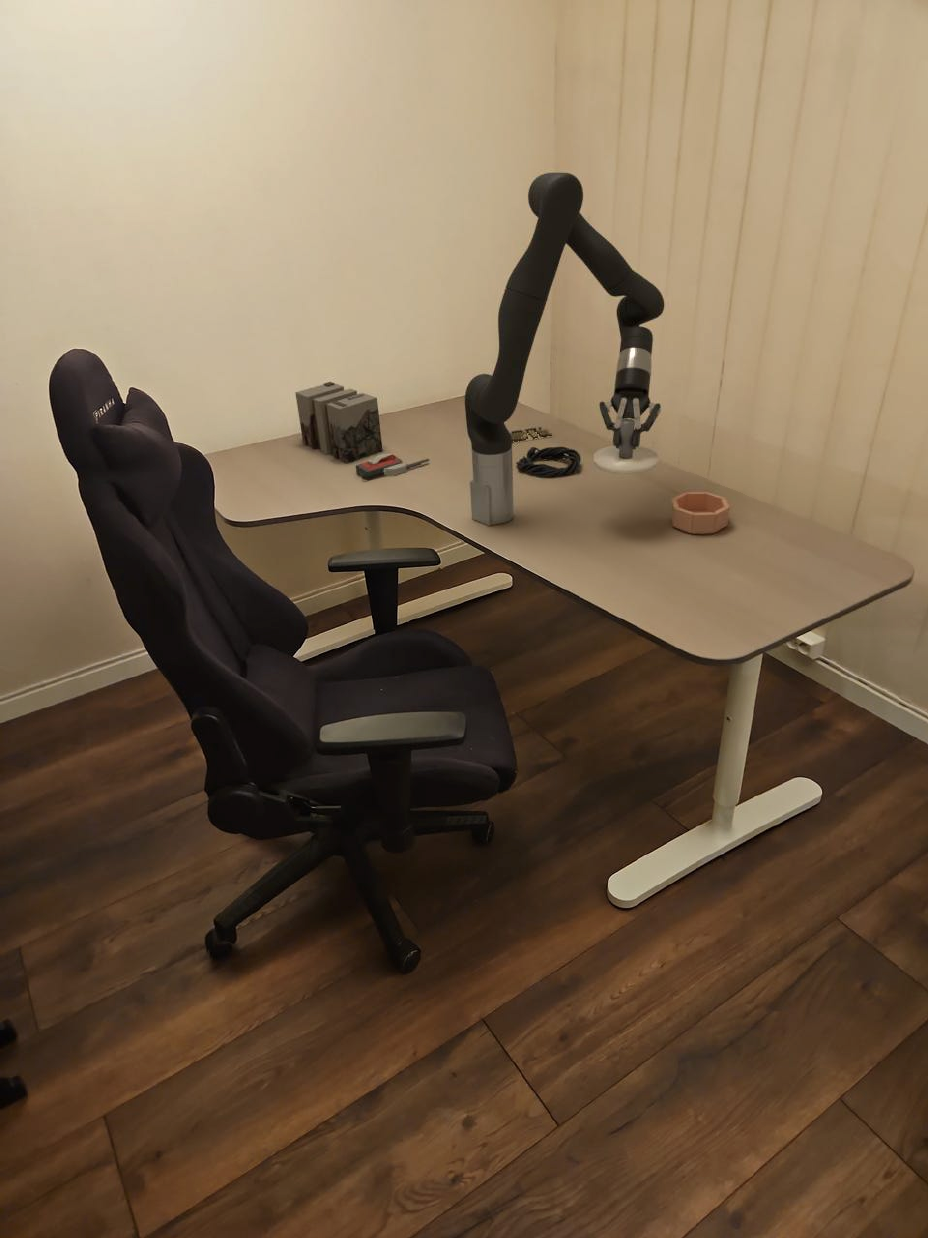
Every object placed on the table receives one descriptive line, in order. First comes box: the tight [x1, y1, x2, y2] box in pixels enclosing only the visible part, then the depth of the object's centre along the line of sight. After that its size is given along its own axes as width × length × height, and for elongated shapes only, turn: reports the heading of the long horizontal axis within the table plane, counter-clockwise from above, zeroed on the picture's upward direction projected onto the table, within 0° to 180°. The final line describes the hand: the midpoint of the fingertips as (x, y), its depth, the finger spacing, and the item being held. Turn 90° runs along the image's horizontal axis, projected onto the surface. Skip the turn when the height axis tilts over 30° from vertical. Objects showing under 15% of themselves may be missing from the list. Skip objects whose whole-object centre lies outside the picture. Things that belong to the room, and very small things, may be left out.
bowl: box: [669, 491, 730, 535], centre depth 200 cm, size 12×12×5 cm
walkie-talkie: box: [355, 452, 430, 481], centre depth 237 cm, size 9×4×20 cm
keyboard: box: [510, 426, 553, 444], centre depth 253 cm, size 22×9×2 cm, turn 105°
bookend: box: [294, 381, 384, 465], centre depth 249 cm, size 16×25×16 cm, turn 41°
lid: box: [593, 418, 659, 475], centre depth 192 cm, size 14×14×9 cm
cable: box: [516, 446, 581, 478], centre depth 232 cm, size 17×14×4 cm
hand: (625, 447), depth 191 cm, fingers closed on lid, 3 cm apart
